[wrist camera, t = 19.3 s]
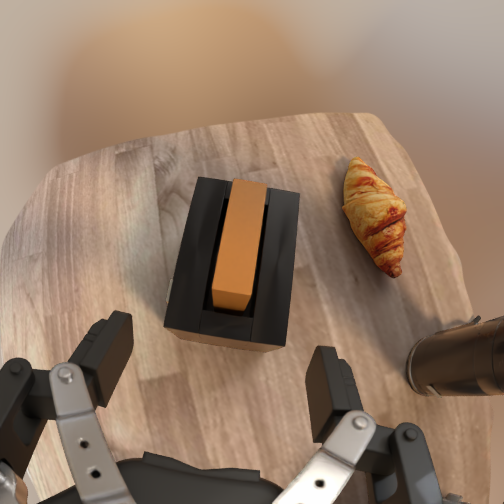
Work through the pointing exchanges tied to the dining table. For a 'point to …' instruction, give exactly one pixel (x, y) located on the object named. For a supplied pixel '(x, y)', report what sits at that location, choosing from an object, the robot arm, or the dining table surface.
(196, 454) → the dining table surface
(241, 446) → the dining table surface
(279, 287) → the slot toaster
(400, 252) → the croissant
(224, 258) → the orange slab
